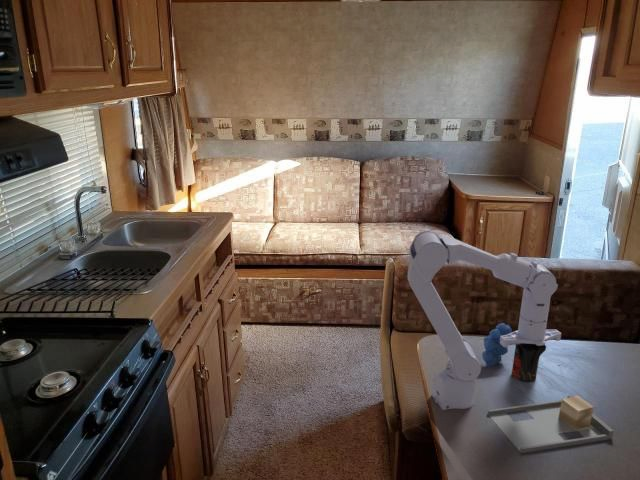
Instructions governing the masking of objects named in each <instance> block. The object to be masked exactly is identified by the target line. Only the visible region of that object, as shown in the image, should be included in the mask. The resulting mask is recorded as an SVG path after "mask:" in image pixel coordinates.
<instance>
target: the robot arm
mask: <svg viewBox="0 0 640 480" xmlns="http://www.w3.org/2000/svg"><path fill="white" fill-rule="evenodd" d="M458 261H461V262H464V263H468V264H471V265H474V266H478V267H480V268H481V267H482V268H484V269H487V270H491V272H492V274H493V277H494V278H497V279H499V280H500V281H501V280H502V281H505V282H507V283H509V284H512V285H515V286H517V287H519V288H520V287H521V288H523V291H522V296H521V297H522V298H521V305H520V312H519V321H518V326H517V327H518V328H517V330H515V331H511V333H510V334H507V335H504V336H500V344H501V345H502V346H503V347H507V348H509V346H515V347H517V350H518V353H519V356H520V362H521V368H522V369H523V370H524V371H525V372H531V371H532V369H533V367H534V365H535V363H536V361H537V359H538V358H539V359H540V356H541V355H543V354H544V352H546V349H547V345H546V342H548V341H556V342H559V341H561V340H562V339H561V338H562V332H560V331H559V330H558V329H547V325H548V324H547V323H548V317H549V312H550V306H551V304H550V303H551V297H552V295H554V293H555V292H556V291H557V290H558V286H559V284H557V278H556V277H555V275H554V274H553V273H552V272H551V271H550V270H548V269H547V268H546V267H545V266H544V265H543V264H541V263H539V262H538V261H537V262H536V261H533V260H532V261H531V262H529V261H527V260H524V259H521V258H519V257H518V255H517V254H516V253H514V252H510V253H509V254H508V253H504V252H503V253H501V254H497V255H494V254H492V253H490V252H488V251H485V250H483V249H480V248H478V247H476V246H473V245H470V244H468V243H467V242H463V241H461V240H459V239H457V238H454V237H451V236H449V235H447V234H443V233H439V234H437V233H436V232H435V231H432V230H423V231H420V232H418V233H417V234H416V235H415V237H414V239H413V240H412V242H411V244H410V246H409V259H408V268H407V277H406V278H407V281H408V284H409V286H410V288H411V290H412V291H413V294H414V295H415V297H416V298H417V300H418V302H419V304H420V305H421V308H422V309H423V311H424V312H425V315H426V316H427V318H428V320H429V322H430V324H431V326H432V327H433V329H434V331H435V333H436V334H437V336H438V338H439V340H440V341H441V343H442V346H443V347H444V349H445V354H446V356H447V358H448V360H449V361H448V362H447V364H446V366H445V369H444V370H442V371H440V372H437V373H435V374H434V376H433V380H432V392H431V396H432V397H433V399H434V402H435V403H436V404H438V406H439V407H440V408H441V410H443V411H445V410H452V409H459V410H461V409H462V410H463V409H470V408H472V406H473V405H474V402H475V401H474V400H475V396H476V395H475V394H476V386H477V378H478V377H479V375H480V374H481V371H482V365H481V362H480V361H479V360H478V357H477V356H476V354H475V352H474V349H473V346H472V344H471V342H470V341H469V340H467V339H465V337H463V336H462V335H461V332H460V331H459V330H458V328H457V326H456V324H455V322H454V321H453V319H452V316H451V315H450V313H449V311H448V309H447V308H446V306H445V304H444V302H443V301H442V298H441V297H440V295H439V293H438V292H437V289H436V287H435V286H434V284H433V282H432V281H433V279H434V277H435V275H436V274H437V273H438V272H439V271H440V270H441V269H442V268H443V267H444V265H445V264H446V263H447V264H448V266H450V265H453V264H454V263H457V262H458Z"/></svg>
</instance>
